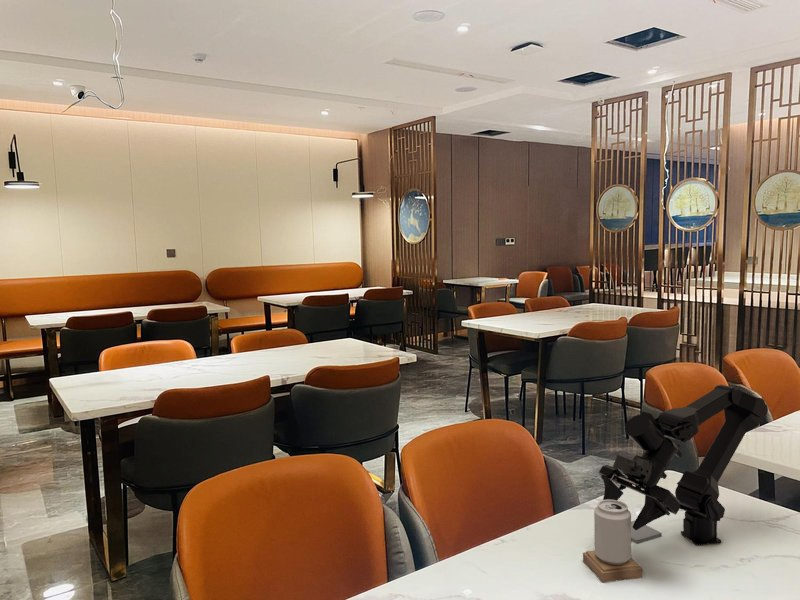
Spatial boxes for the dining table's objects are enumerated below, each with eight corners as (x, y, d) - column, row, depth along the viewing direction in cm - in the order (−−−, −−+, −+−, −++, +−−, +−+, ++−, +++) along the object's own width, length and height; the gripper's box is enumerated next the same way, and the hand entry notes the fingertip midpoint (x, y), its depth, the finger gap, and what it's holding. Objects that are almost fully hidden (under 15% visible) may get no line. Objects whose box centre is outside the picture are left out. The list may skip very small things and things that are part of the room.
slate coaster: (636, 523, 155) (636, 520, 155) (661, 536, 148) (661, 532, 148) (611, 530, 152) (611, 526, 152) (636, 543, 145) (636, 540, 145)
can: (638, 563, 131) (638, 508, 130) (608, 569, 129) (608, 514, 128) (616, 546, 138) (616, 495, 137) (587, 552, 136) (587, 500, 135)
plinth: (620, 556, 139) (620, 545, 139) (642, 577, 130) (642, 566, 130) (583, 561, 138) (582, 550, 137) (602, 582, 129) (602, 571, 128)
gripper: (603, 430, 143) (567, 486, 139) (670, 453, 126) (631, 517, 122) (629, 456, 147) (594, 512, 143) (697, 482, 130) (659, 545, 126)
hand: (617, 520), depth 134 cm, fingers open, 9 cm apart
